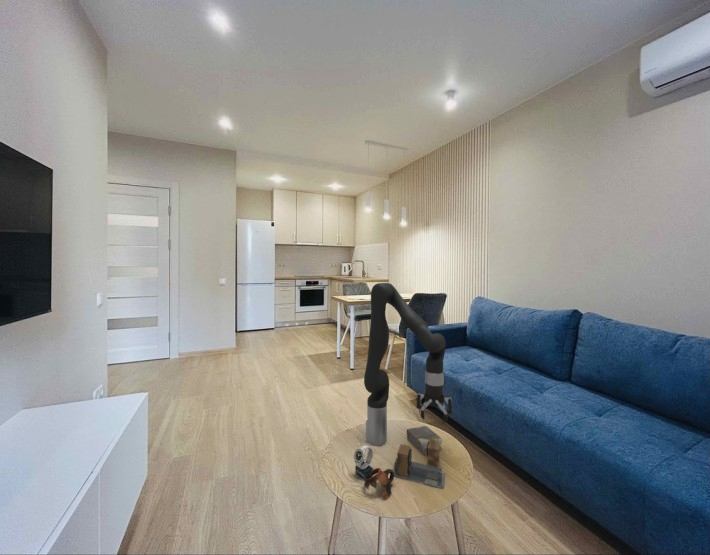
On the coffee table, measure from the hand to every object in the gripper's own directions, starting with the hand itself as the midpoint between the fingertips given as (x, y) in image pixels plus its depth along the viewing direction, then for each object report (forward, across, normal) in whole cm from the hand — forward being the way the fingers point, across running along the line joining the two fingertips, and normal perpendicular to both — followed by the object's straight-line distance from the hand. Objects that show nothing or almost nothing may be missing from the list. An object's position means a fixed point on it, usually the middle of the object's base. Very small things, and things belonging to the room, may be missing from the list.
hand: (434, 420), depth 124 cm
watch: (+18, -25, -17) cm, 35 cm away
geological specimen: (+19, -5, +12) cm, 23 cm away
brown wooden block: (+18, 0, 0) cm, 18 cm away
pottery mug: (+18, -17, -23) cm, 34 cm away
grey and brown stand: (+18, -5, -10) cm, 21 cm away
